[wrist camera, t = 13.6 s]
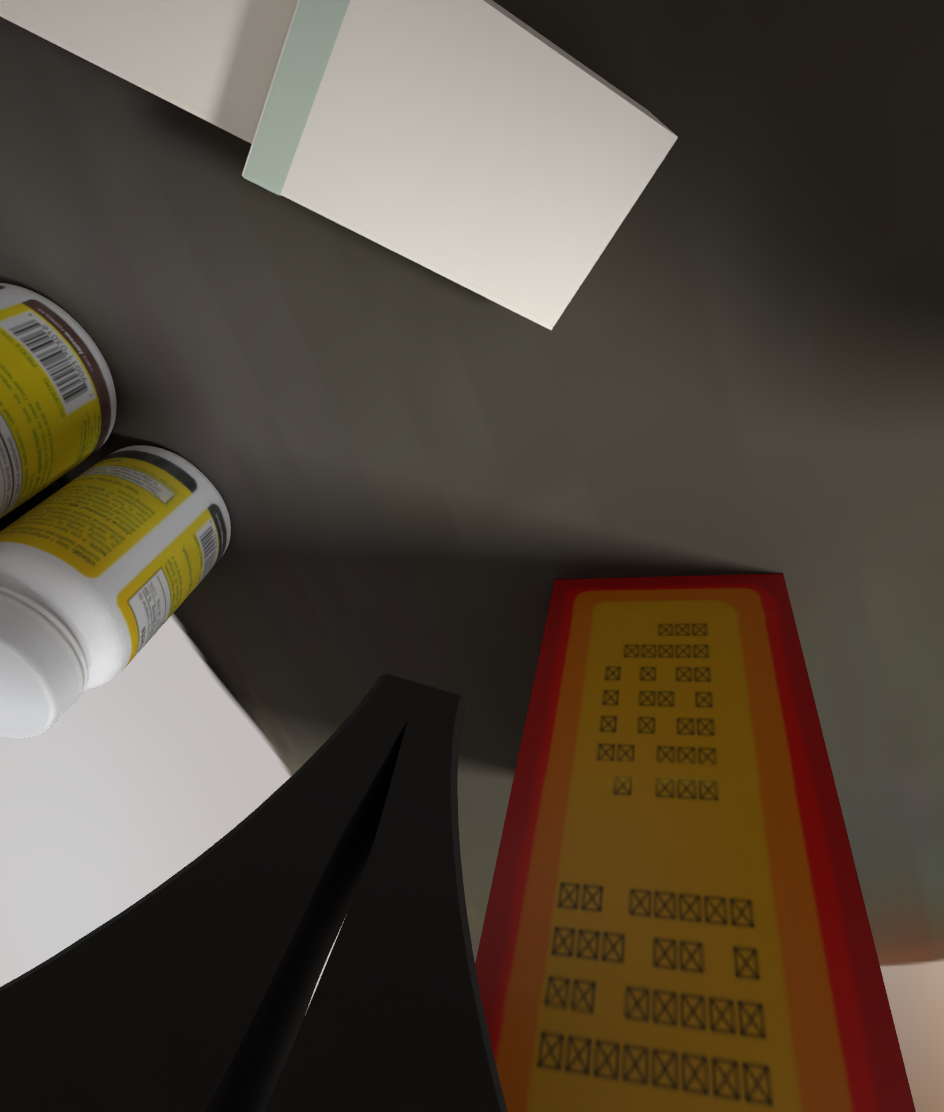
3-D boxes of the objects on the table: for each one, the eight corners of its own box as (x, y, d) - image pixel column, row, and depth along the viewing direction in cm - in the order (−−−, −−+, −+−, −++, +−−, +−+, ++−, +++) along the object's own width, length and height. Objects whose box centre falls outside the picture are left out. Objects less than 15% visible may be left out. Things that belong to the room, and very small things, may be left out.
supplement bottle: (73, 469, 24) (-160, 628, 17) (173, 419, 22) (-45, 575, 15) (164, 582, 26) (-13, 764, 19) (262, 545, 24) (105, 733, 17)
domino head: (679, 136, 14) (332, -108, 11) (550, 331, 16) (241, 176, 13) (648, 108, 15) (334, -114, 12) (534, 291, 18) (251, 144, 15)
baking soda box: (770, 796, 25) (887, 1555, 12) (584, 786, 27) (516, 1441, 14) (783, 573, 21) (995, 1439, 8) (554, 579, 22) (408, 1286, 9)
